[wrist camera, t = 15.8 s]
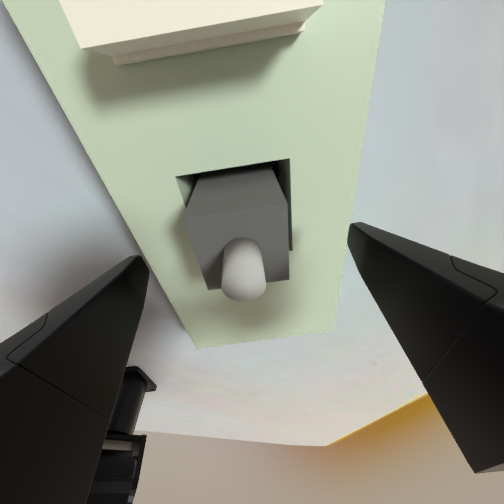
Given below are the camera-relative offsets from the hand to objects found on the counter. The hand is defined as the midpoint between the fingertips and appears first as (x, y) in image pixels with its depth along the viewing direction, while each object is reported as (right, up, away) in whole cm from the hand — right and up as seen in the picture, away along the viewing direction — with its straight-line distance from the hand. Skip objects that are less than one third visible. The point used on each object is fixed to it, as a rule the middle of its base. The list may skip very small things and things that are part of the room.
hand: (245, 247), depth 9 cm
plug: (-1, +4, +6) cm, 7 cm away
